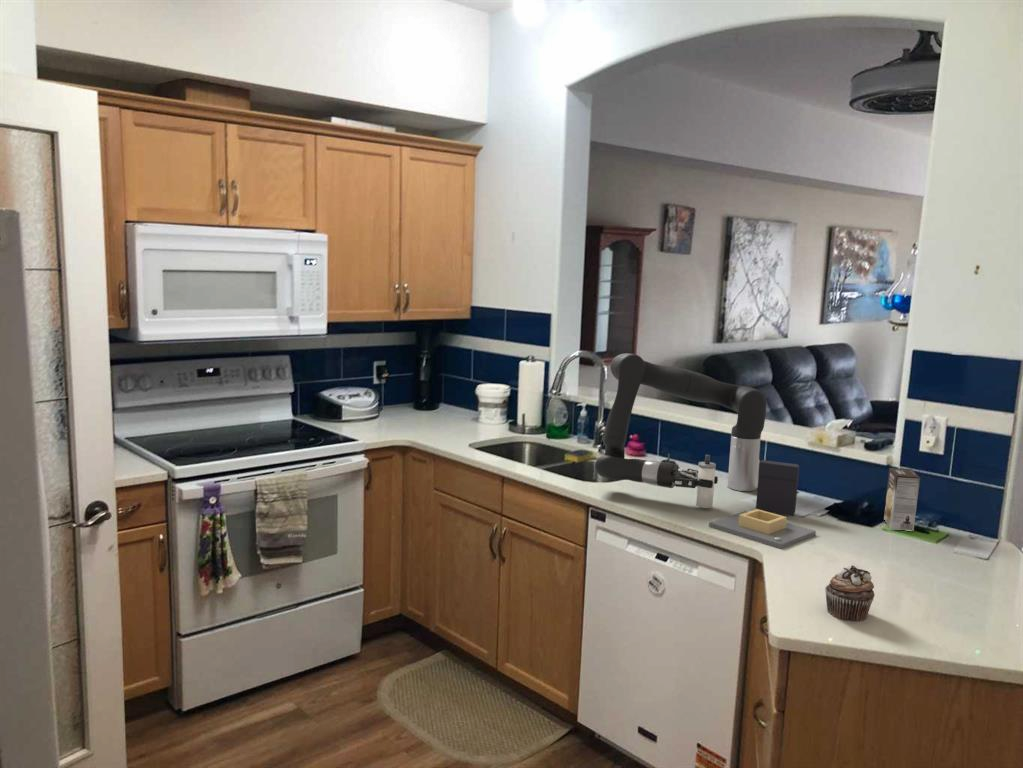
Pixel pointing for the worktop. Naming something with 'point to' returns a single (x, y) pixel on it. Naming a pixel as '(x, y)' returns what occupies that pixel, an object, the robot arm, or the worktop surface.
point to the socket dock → (763, 528)
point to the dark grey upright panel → (777, 487)
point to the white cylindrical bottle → (705, 493)
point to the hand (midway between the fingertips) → (714, 482)
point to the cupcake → (850, 594)
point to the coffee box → (901, 499)
